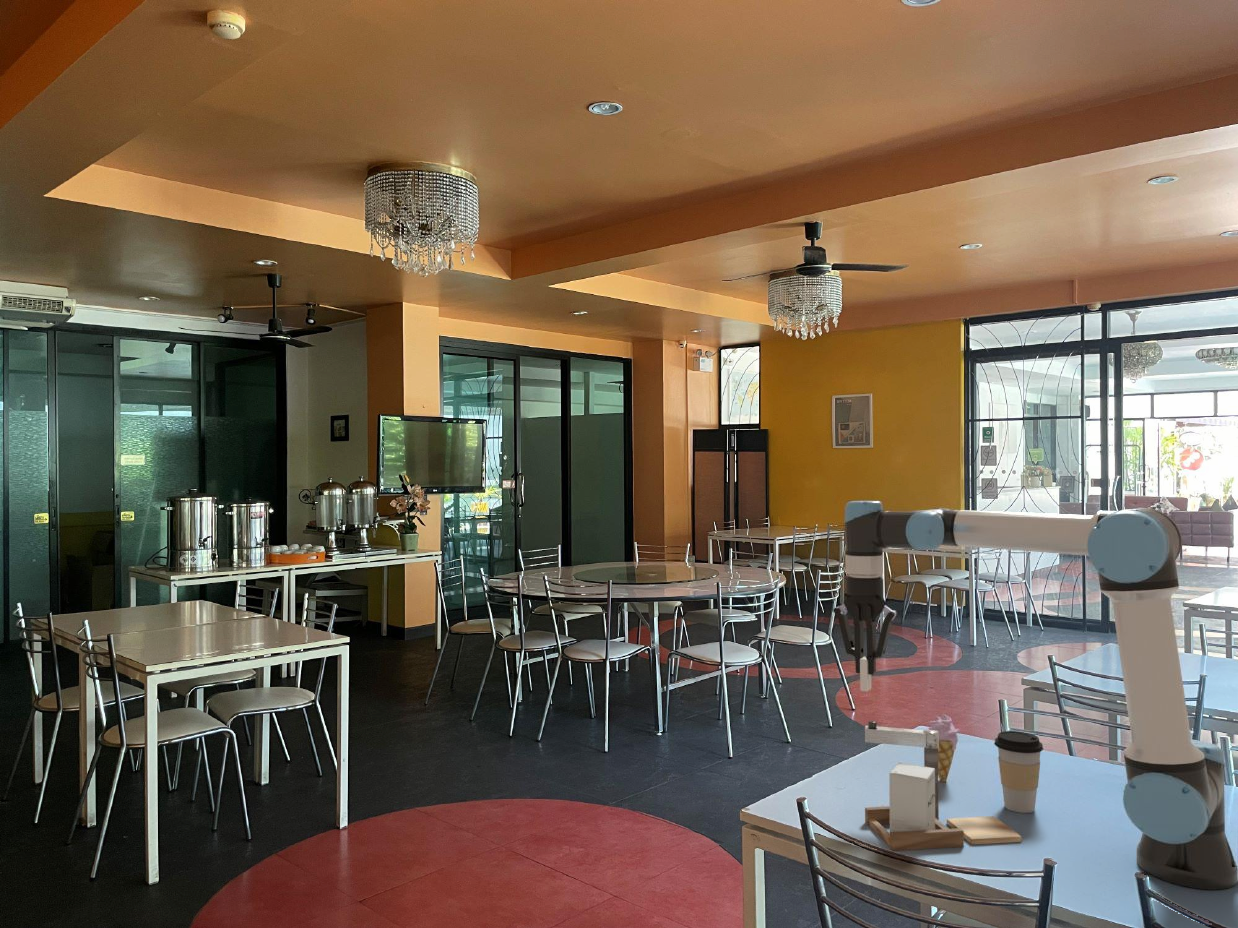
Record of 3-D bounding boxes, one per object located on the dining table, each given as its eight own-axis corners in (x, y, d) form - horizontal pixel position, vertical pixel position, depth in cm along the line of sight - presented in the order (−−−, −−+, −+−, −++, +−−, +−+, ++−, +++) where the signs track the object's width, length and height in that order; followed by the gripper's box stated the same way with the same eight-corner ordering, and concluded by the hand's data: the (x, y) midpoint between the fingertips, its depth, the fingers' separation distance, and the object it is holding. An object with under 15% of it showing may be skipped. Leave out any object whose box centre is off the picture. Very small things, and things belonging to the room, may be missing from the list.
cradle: (971, 846, 168) (970, 770, 168) (892, 850, 166) (892, 774, 166) (934, 814, 183) (933, 745, 183) (861, 818, 181) (861, 748, 181)
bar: (938, 744, 183) (938, 725, 183) (938, 749, 180) (938, 729, 180) (865, 738, 187) (865, 719, 187) (865, 742, 185) (864, 723, 185)
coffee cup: (1049, 817, 181) (1048, 744, 181) (1000, 814, 183) (999, 741, 183) (1037, 800, 190) (1036, 730, 190) (990, 797, 192) (989, 728, 192)
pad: (1021, 841, 170) (1021, 836, 170) (971, 844, 169) (971, 839, 169) (993, 820, 180) (993, 815, 180) (946, 823, 178) (946, 818, 178)
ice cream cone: (962, 779, 203) (962, 714, 203) (956, 787, 198) (956, 720, 198) (932, 774, 207) (932, 710, 207) (926, 782, 202) (925, 716, 202)
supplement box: (927, 845, 168) (927, 778, 168) (888, 836, 172) (887, 771, 172) (936, 831, 175) (936, 767, 175) (898, 823, 179) (897, 761, 179)
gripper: (901, 575, 183) (902, 689, 183) (839, 571, 190) (841, 682, 190) (890, 579, 177) (892, 697, 176) (827, 575, 184) (829, 689, 183)
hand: (865, 689), depth 183 cm, fingers closed
